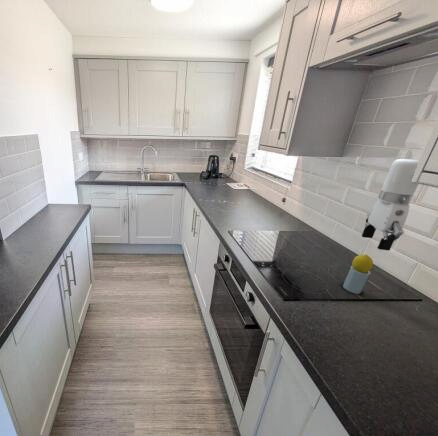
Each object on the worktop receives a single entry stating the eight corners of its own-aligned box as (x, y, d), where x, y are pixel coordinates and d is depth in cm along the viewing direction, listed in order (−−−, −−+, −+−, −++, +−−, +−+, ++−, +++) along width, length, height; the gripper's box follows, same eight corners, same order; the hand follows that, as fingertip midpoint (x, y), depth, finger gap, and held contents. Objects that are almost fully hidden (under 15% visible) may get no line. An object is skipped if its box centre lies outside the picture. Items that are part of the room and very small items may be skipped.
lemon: (366, 279, 84) (375, 260, 81) (347, 271, 88) (355, 254, 85) (369, 273, 88) (377, 255, 85) (350, 266, 92) (358, 249, 89)
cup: (356, 286, 93) (365, 267, 89) (364, 295, 88) (373, 275, 84) (340, 283, 94) (348, 264, 91) (346, 291, 89) (355, 272, 86)
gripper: (430, 206, 68) (404, 256, 74) (390, 192, 83) (372, 234, 90) (398, 204, 70) (376, 253, 76) (366, 190, 85) (349, 232, 91)
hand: (374, 243), depth 83 cm, fingers open, 9 cm apart
